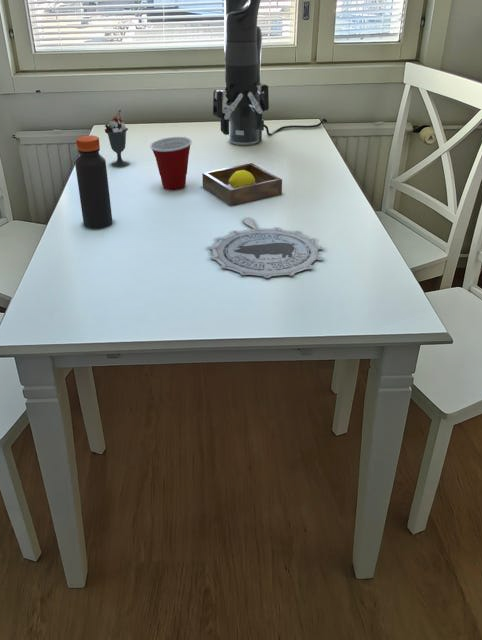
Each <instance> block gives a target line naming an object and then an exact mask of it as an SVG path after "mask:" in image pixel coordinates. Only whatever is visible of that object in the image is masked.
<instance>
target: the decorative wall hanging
mask: <svg viewBox="0 0 482 640" xmlns="http://www.w3.org/2000/svg"><path fill="white" fill-rule="evenodd" d="M243 223H244V224H246V226H248V227H251V228H252V229H248V230H242V231H237V230H234V231H233V232H232V233H231V234H228V235H227V236H224V237H219V238H217V240H218V241H217V242H216V243H215V244H214V245H213V246H210V247H209V249H210V250H212V256H211V257H210V260H214V261H216V262H217V263H218V264H219V265H221V266H220V268H221V269H225V270H226V269H228V270H231V271H234V272H237V273H239V274H240V276H247V275H249V276H257V277H258V276H259V277H263V278H266V279H270V278H271V277H276V276H290V277H292V276H295V274H296V273H299V272H302V271H304V270H313V269H314V267H313V263H314V262H315V261H316V260H318V261H323V260H324V258H323V257H321V256H319V250H324V249H325V248H324V247H323V246H319V245H318V244H315V243H316V242H315V241H316V238H314V237H312V238H310V237H308V236H304V235H303V234H301V233H300V231H293V232H289V231H285V230H281V229H280V227H274V228H258V227H257V226H256V225H255V222H254V220H252V219H251V218H249V217H248V218H247V217H246V218H245V219H244V222H243Z"/></svg>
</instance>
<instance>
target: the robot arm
mask: <svg viewBox="0 0 482 640" xmlns="http://www.w3.org/2000/svg"><path fill="white" fill-rule="evenodd" d="M261 2H262V0H224V31H223V32H224V34H223V35H224V36H223V37H224V39H223V40H224V41H223V44H224V45H223V46H224V47H223V49H224V74H225V75H224V77H225V78H224V79H225V80H224V81H225V89H224V90H219V89H214V90H213V92H212V93H213V95H212V97H213V98H212V115H213V116H214V117H216V118H218V119H219V120H220V133H221V132H222V134H223V135H224V136H229V143H231V144H233V145H235V146H251V145H256V144H258V143H259V142H262V141H263V131H264V130H266V135H267V136H269V137H270V136H273V135H274V134H276V133H278V132H280V131H282V130H284V129H293V128H294V129H295V128H296V129H305V128H306V129H312V128H317V127H320V126H321V125H322V124H323V123H328V120H327V119H326V118H322V119H321V120H320V122H318V123H317V124H312V125H311V124H309V125H295V124H294V125H293V124H292V125H284V126H281V127H279V128H277V129H276V130H275V131H274V132H272V133H270V130H269V127H268V125H266V124H265V120H264V119H263V113H264V112H265V111H269V108H270V102H269V101H270V100H269V99H270V97H269V86H268V85H267V84H265V83H261V60H262V45H263V34H262V33H263V32H262V30H261V27H260V26H259V25H258V18H259V17H258V16H259V10H260V5H261ZM247 3H248V4H247ZM225 98H226V100H225ZM224 100H225V102H224V103H223V101H224Z"/></svg>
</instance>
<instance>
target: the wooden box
mask: <svg viewBox="0 0 482 640" xmlns="http://www.w3.org/2000/svg"><path fill="white" fill-rule="evenodd" d="M240 170H245V171H248V172H250V173H251V174H252V175H253V177H254V178H255V182H254V184H251V185H246V186H242V187H237V188H233V187H230V186H229V185H230V184H229V183H228V181H229V179H230V178H231V176H232V175H233V173H235V172H236V171H240ZM228 184H229V185H228ZM202 188H203V189H204V190H206V191H208V192H209V193H211V194H212V195H213V196H215V197H217V198H218V199H219V200H221V201H222V202H224V203H225V204H227V205H228V206H230V207H232V206H237V205H241V204H246V203H250V202H254V201H259V200H264V199H267V198H272V197H276V196H280V195H283V179H282V178H281V177H279V176H277V175H275V174H273V173H271V172H269V171H267V170H266V169H264V168H262V167H261V166H258V165H256V164H255V163H252V162H250V163H245V164H240V165H235V166H230V167H224V168H219V169H214V170H211V171H210V170H209V171H205V172H202Z"/></svg>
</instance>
